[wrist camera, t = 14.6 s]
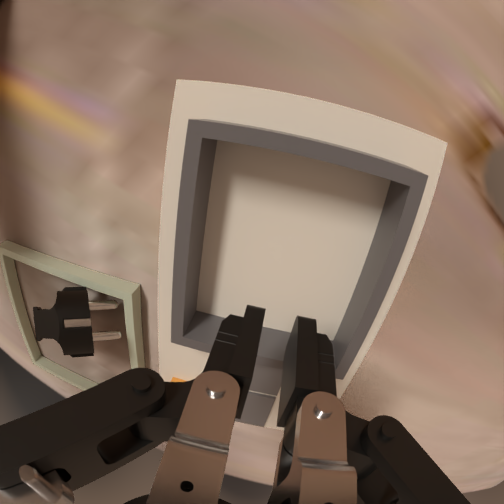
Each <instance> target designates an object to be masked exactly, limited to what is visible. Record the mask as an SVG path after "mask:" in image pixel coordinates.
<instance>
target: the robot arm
mask: <svg viewBox="0 0 504 504" xmlns="http://www.w3.org/2000/svg"><path fill="white" fill-rule="evenodd" d="M265 310H266V309H265V308H261V307H256V306H252V305H247V307H246V310H245V314H244V317H241V316H236V315H232V314H230V315H229V316H228V317H226V318H225V319H224V320H223V321H222V322H221V325H220V328H219V330H218V333H217V336H216V338H215V341H214V344H213V346H212V349H211V352H210V354H209V357H208V360H207V362H206V365H205V368H204V370H203V372H202V373H201V374H200V375H198V376H197V377H196V378H195V379H193V380H190V381H186V382H164V380H163V378H162V377H161V376H160V375H159V374H158V373H157V372H155V371H153V370H151V369H148V368H134V369H131V370H128V371H126V372H124V373H122V374H120V375H117V376H115V377H113V378H111V379H109V380H107V381H105V382H102V383H100V384H98V385H96V386H94V387H91V388H89V389H87V390H85V391H83V392H80V393H78V394H76V395H73V396H71V397H69V398H67V399H64V400H62V401H60V402H57V403H55V404H53V405H50V406H48V407H45V408H43V409H41V410H38V411H36V412H33V413H31V414H29V415H26V416H23V417H21V418H19V419H16V420H14V421H11V422H8V423H6V424H3V425H1V426H0V504H74V501H75V499H74V493H73V491H74V490H76V489H78V488H80V487H82V486H84V485H87V484H89V483H91V482H93V481H95V480H96V479H99V478H101V477H102V476H104V475H106V474H108V473H110V472H112V471H114V470H116V469H118V468H120V467H121V466H123V465H125V464H127V463H129V462H130V461H132V460H134V459H136V458H137V457H139V456H141V455H143V454H144V453H146V452H148V451H149V450H151V449H153V448H155V447H156V446H158V445H159V444H161V443H162V442H164V441H168V443H167V445H166V448H165V451H164V454H163V456H162V459H161V462H160V465H159V468H158V471H157V473H156V476H155V479H154V482H153V485H152V488H151V490H150V493H149V494H148V495H144V496H141V497H138V498H135V499H132V500H130V501H128V502H126V503H124V504H231V503H228V502H226V501H224V500H222V499H219V494H220V490H221V485H222V480H223V476H224V471H225V466H226V462H227V457H228V451H229V443H230V439H231V434H232V429H233V425H234V422H235V418H237V419H241V415H242V412H243V409H244V405H245V402H246V399H247V395H248V392H249V388H250V385H251V382H252V378H253V373H254V368H255V363H256V358H257V353H258V347H259V342H260V337H261V332H262V327H263V321H264V316H265ZM277 427H283V428H284V436H283V438H282V440H281V442H280V445H279V451H278V458H277V464H276V471H275V477H274V483H273V488H272V492H271V495H270V497H269V499H268V503H267V504H470V502H469V501H468V500H467V499H466V498H465V497H464V495H463V494H462V493H461V492H460V491H459V490H458V489H457V487H456V486H455V485H454V484H453V483H452V482H451V481H450V479H449V478H448V477H447V476H446V475H445V474H444V472H443V471H442V470H441V469H440V468H439V467H438V466H437V464H436V463H435V462H434V461H433V460H432V459H431V457H430V456H429V455H428V454H427V453H426V452H425V451H424V449H423V448H422V447H421V446H420V445H419V444H418V443H417V441H416V440H415V439H414V438H413V437H412V436H411V434H410V433H409V432H408V431H407V430H406V429H405V428H404V426H403V425H402V424H401V423H400V422H399V421H398V420H396V419H395V418H393V417H390V416H384V415H383V416H377V417H375V418H373V419H372V420H371V421H370V422H369V421H366V420H364V419H361V418H358V417H356V416H354V415H351V414H350V413H348V412H347V411H346V410H345V407H344V405H343V403H342V402H341V401H340V399H338V398H337V391H336V378H335V366H334V357H333V345H332V343H331V341H330V340H329V338H328V336H327V335H326V334H321V333H317V322H316V319H312V318H307V317H302V316H298V315H297V317H296V319H295V322H294V325H293V328H292V331H291V334H290V337H289V340H288V343H287V346H286V350H285V354H284V360H283V371H282V381H281V390H280V400H279V409H278V417H277Z"/></svg>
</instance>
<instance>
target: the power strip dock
mask: <svg viewBox="0 0 504 504" xmlns="http://www.w3.org/2000/svg"><path fill="white" fill-rule="evenodd" d="M446 148H447V142H444V141H442V140H440V139H437V138H435V137H433V136H430V135H428V134H425V133H423V132H420V131H418V130H415V129H412V128H410V127H407V126H404V125H402V124H399V123H396V122H393V121H390V120H387V119H384V118H381V117H378V116H375V115H372V114H369V113H366V112H362V111H359V110H355V109H352V108H348V107H345V106H341V105H337V104H334V103H330V102H326V101H322V100H317V99H313V98H309V97H304V96H300V95H295V94H290V93H285V92H279V91H274V90H268V89H262V88H256V87H249V86H242V85H234V84H226V83H217V82H207V81H194V80H178V79H177V82H176V87H175V93H174V99H173V106H172V112H171V119H170V126H169V134H168V142H167V150H166V159H165V168H164V179H163V190H162V202H161V216H160V233H159V256H158V350H159V372H160V376H161V377H162V378H163V380H164V382H186V381H190V380H193V379H195V378H196V377H197V376H198V375H200V374H201V373H202V372H203V370H204V368H205V365H206V362H207V360H208V357H209V354H210V352H211V349H212V346H213V344H214V341H215V338H216V336H217V333H218V330H219V328H220V325H221V322H222V321H223V320H224V319H225V318H226V317H228V316H229V315H230V314H232V315H236V316H241V317H244V314H245V310H246V307H247V305H252V306H256V307H261V308H265V309H266V310H265V316H264V321H263V327H262V332H261V337H260V342H259V347H258V353H257V358H256V363H255V368H254V373H253V378H252V382H251V385H250V388H249V392H248V395H247V399H246V402H245V405H244V409H243V412H242V415H241V419H237V418H235V421H236V422H241V423H245V424H250V425H255V426H260V427H266V428H271V429H277V430H284V428H283V427H277V417H278V409H279V400H280V390H281V381H282V371H283V360H284V354H285V350H286V346H287V343H288V340H289V337H290V334H291V331H292V328H293V325H294V322H295V319H296V317H297V315H298V316H302V317H307V318H312V319H316V322H317V333H321V334H326V335H327V336H328V338H329V340H330V341H331V343H332V345H333V357H334V366H335V378H336V391H337V398H338V399H340V398H341V396H342V395H343V393H344V392H345V390H346V388H347V387H348V385H349V383H350V382H351V380H352V378H353V377H354V375H355V373H356V371H357V370H358V368H359V366H360V365H361V363H362V361H363V359H364V357H365V356H366V354H367V352H368V350H369V348H370V346H371V344H372V343H373V341H374V339H375V337H376V335H377V333H378V331H379V329H380V327H381V325H382V323H383V321H384V319H385V317H386V315H387V313H388V311H389V309H390V307H391V304H392V302H393V300H394V298H395V296H396V294H397V291H398V289H399V287H400V285H401V282H402V280H403V278H404V275H405V273H406V270H407V268H408V266H409V263H410V261H411V258H412V256H413V253H414V250H415V248H416V245H417V243H418V240H419V237H420V234H421V232H422V229H423V226H424V223H425V220H426V217H427V214H428V211H429V208H430V205H431V202H432V199H433V195H434V192H435V189H436V185H437V182H438V178H439V175H440V171H441V167H442V164H443V160H444V156H445V152H446Z"/></svg>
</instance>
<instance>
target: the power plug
mask: <svg viewBox="0 0 504 504" xmlns="http://www.w3.org/2000/svg"><path fill="white" fill-rule="evenodd" d="M117 307H118V302H117V301H116V300H103V301H89V300H88V293H87V290H86V287H65V288H64V289H63V290H62V291H57V299H56V303H55V305H54V306H53V308H51V309H50V310H48V309H43V310H42V309H41V307H33V313H34V323H35V332H36V340H37V341H41V340H42V339H43V338H48V339H49V338H50V339H54V340H56V341H57V342H58V343H59V344H60V346H61V348H62V350H63V353H64V355H70V356H72V357H84V356H94V354H93V353H94V345H93V341H101V340H113V339H120V338H121V332H120V331H119V330H112V331H99V332H92V327H91V319H90V318H91V317H90V310H107V309H116V308H117Z"/></svg>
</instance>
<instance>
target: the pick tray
mask: <svg viewBox="0 0 504 504" xmlns="http://www.w3.org/2000/svg"><path fill="white" fill-rule="evenodd" d="M14 259H15V260H17V261H19V262H22V263H24V264H27V265H29V266H31V267H34V268H36V269H39V270H41V271H44V272H46V273H49V274H51V275H54V276H57V277H59V278H62V279H65V280H67V281H70V282H73V283H75V284H78V285H81V286H84V287H87V288H89V289H92V290H95V291H98V292H101V293H104V294H107V295H110V296H113V297H116V298H119V299H122V300H123V301H124V313H125V324H126V333H127V342H128V350H129V357H130V364H131V369H134V368H145V360H144V348H143V335H142V318H141V294H140V284H137V283H133V282H130V281H127V280H123V279H120V278H117V277H113V276H110V275H107V274H104V273H100V272H97V271H94V270H91V269H88V268H85V267H82V266H79V265H76V264H73V263H69V262H67V261H64V260H61V259H58V258H55V257H52V256H49V255H46V254H43V253H40V252H38V251H35V250H32V249H29V248H27V247H24V246H21V245H18V244H16V243H13V242H11V241H8V240H6V241H4V242H2V243H1V244H0V261H1V266H2V270H3V274H4V278H5V282H6V286H7V290H8V294H9V297H10V301H11V304H12V307H13V310H14V314H15V317H16V320H17V323H18V326H19V328H20V331H21V334H22V337H23V339H24V342H25V345H26V347H27V350H28V352H29V355H30V357H31V360H32V362H33V364H35V365H36V366H38V367H40V368H41V369H43V370H45V371H47V372H48V373H50V374H52V375H54V376H56V377H57V378H59V379H61V380H63V381H65V382H67V383H69V384H71V385H73V386H75V387H77V388H79V389H81V390H83V391H85V390H87V389H89V388H91V387H94V386H96V385H98V383H96V382H93V381H91V380H89V379H87V378H85V377H83V376H80V375H78V374H76V373H74V372H72V371H70V370H68V369H66V368H64V367H62V366H60V365H58V364H56V363H55V362H53V361H51V360H49V359H47V358H45V357H44V356H42V355H41V353H40V350H39V348H38V345H37V342H36V339H35V336H34V333H33V330H32V327H31V324H30V321H29V318H28V315H27V311H26V308H25V304H24V301H23V297H22V293H21V289H20V285H19V281H18V277H17V272H16V268H15V263H14Z"/></svg>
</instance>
